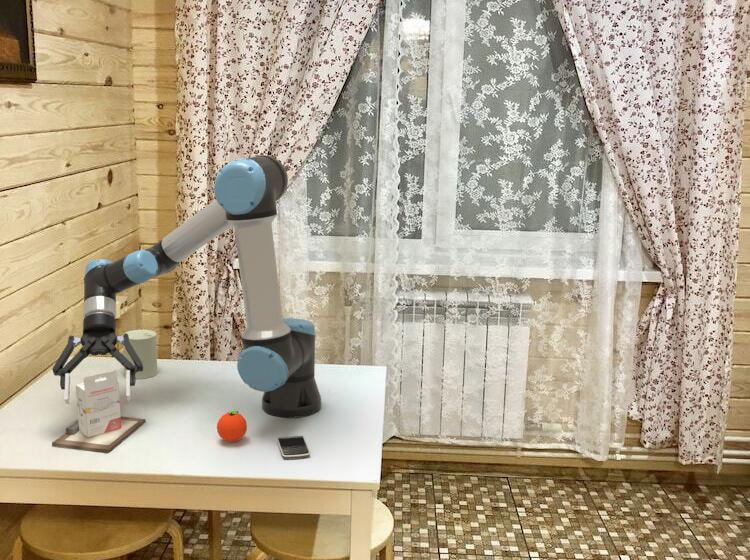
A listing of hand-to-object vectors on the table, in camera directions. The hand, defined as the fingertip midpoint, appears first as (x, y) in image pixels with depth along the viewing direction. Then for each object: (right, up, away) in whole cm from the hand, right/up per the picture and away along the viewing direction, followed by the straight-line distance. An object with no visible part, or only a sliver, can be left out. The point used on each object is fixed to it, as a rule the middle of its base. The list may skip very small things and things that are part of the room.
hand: (97, 400), depth 200 cm
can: (-2, +1, +44) cm, 44 cm away
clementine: (+31, -10, +2) cm, 32 cm away
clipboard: (-1, -8, +4) cm, 9 cm away
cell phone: (+45, -12, -2) cm, 47 cm away
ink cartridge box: (-1, -8, +4) cm, 9 cm away
